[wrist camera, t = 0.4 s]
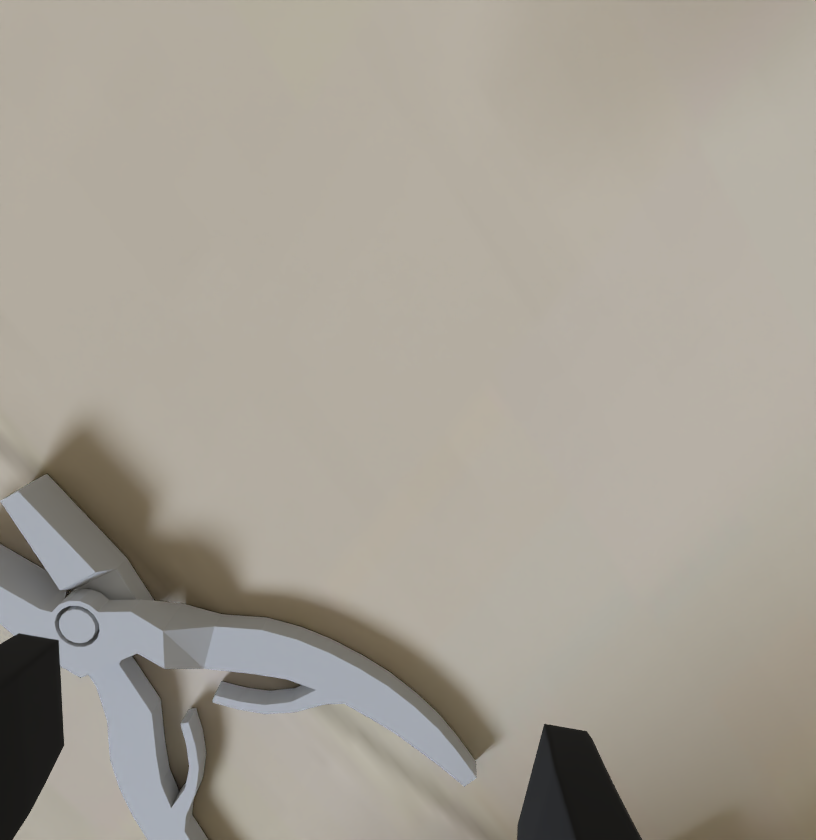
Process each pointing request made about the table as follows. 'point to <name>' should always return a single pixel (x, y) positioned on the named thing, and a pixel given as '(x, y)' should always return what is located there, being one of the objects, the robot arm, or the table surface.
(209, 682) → the table surface
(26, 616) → the pliers
